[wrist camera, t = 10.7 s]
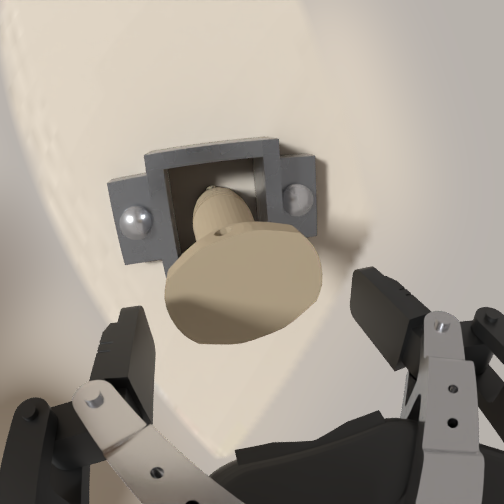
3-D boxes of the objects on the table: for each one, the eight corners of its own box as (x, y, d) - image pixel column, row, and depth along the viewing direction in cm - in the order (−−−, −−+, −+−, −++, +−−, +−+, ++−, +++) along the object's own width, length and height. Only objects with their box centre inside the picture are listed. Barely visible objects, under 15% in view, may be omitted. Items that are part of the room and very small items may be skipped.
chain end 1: (109, 159, 22) (95, 165, 19) (251, 138, 24) (262, 140, 21) (132, 273, 27) (125, 295, 23) (260, 253, 28) (271, 273, 25)
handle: (170, 190, 25) (144, 268, 11) (243, 163, 25) (308, 209, 11) (190, 241, 27) (194, 359, 13) (260, 215, 27) (330, 309, 13)
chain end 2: (165, 148, 23) (161, 152, 20) (305, 134, 25) (325, 136, 21) (183, 265, 27) (183, 287, 24) (309, 246, 29) (326, 263, 26)
